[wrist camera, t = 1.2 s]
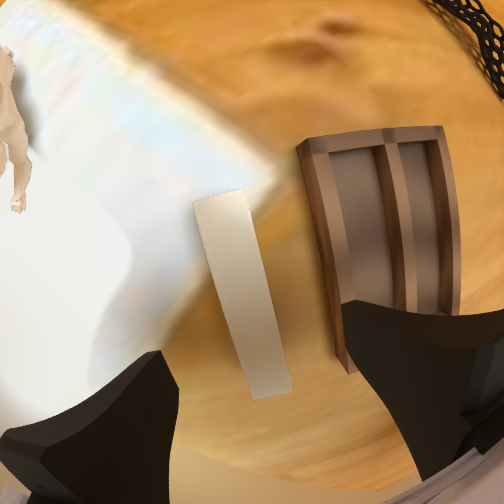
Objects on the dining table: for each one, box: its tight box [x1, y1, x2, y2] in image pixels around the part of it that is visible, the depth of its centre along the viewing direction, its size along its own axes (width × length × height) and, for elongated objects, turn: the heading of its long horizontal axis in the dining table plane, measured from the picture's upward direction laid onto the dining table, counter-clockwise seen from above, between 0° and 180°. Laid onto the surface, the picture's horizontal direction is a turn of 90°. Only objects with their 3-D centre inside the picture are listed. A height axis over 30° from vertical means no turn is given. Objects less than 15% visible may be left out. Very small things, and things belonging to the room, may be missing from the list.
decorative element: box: [433, 0, 504, 99], centre depth 12 cm, size 22×5×6 cm, turn 47°
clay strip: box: [192, 188, 293, 401], centre depth 16 cm, size 12×2×5 cm, turn 15°
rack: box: [296, 126, 461, 375], centre depth 17 cm, size 16×11×3 cm
